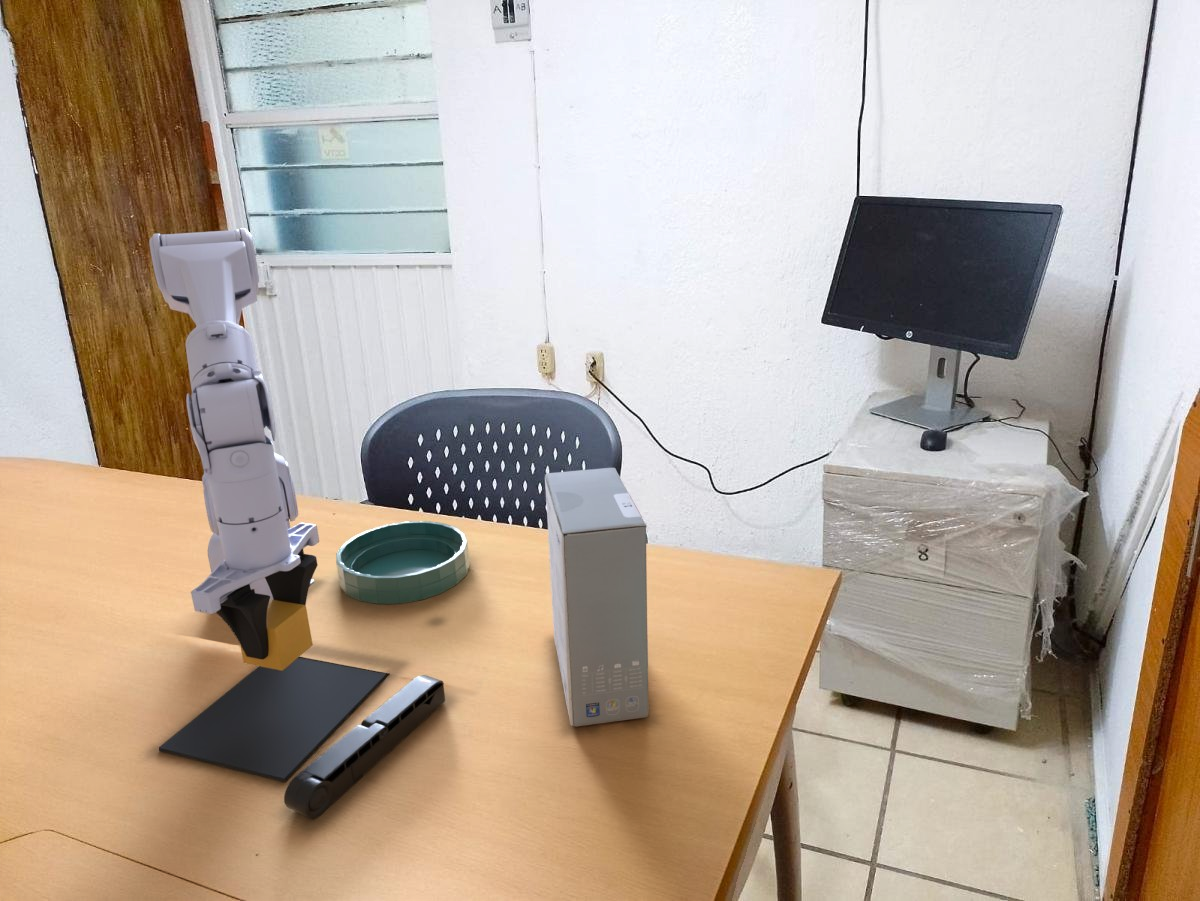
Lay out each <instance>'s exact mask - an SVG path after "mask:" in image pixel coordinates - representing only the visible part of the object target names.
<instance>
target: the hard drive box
mask: <svg viewBox="0 0 1200 901" xmlns="http://www.w3.org/2000/svg"><path fill="white" fill-rule="evenodd" d="M544 484H545V501H546V516H547V518H546V519H547V537H548V553H549V554H548V555H549V573H550V574H549V575H550V591H551V607H552V625H553V638H554V646H555V649H556V654H557V655H556V656H557V661H558V666H559V671H560V677H561V683H562V686H563V687H562V689H563V692H564V699H565V703H566V705H565V706H566V709H567V714H568V719H569V724H570V726H571V727H572V726H573V727H575V728H577V727H583V726H591V725H598V724H605V723H612V722H620V721H628V720H635V719H636V720H637V719H643V718H647V717H648V716H649V647H648V646H649V645H648V644H649V643H648V642H649V641H648V639H649V638H648V636H649V635H648V586H647V585H648V583H647V578H648V577H647V576H648V575H647V574H648V573H647V572H648V570H647V568H648V567H647V526H648V525H647V524H646V522H645V520H644V518H643V516H642V514H641V512H640V510H639V509H638V507H637V505H636V503H635V501H634V500H633V498H632V497H631V496H632V495H631V494H630V493H629V492H628V490H627V488H626V486H625V483H624V481H623V480H622V478H621V476H620V474H619V473H618V471H617V469H616V468H615V467H604V468H592V469H591V468H590V469H580V470H571V471H570V470H569V471H568V470H567V471H558V472H557V471H556V472H547V473H545V475H544Z"/></svg>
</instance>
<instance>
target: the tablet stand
mask: <svg viewBox="0 0 1200 901" xmlns="http://www.w3.org/2000/svg"><path fill="white" fill-rule="evenodd" d="M444 684H445V683H444V681H443V680H441V679H439V678H434V677H432V676H429V675H426V674H421V675H418V676H416V677H414V678H413V679H411V681H409V682H408V683H407V684H406V685H405V686H403V687H402V688H401V689H399V690H398V691H397V692H396V693H395V694H394V695H392V696H391V697H390V698H389V699H387V700H386V701H385V702H384V703H382V704H381V705H380V706H379V707H378V708H376V709H375V710H374V711H373V712H372V713H370V714H369V715H368V716H367V717H365V718H364V719H363V720H362V721H361V724H356V725H355V726H354V727H353V728H352V729H351V730H350V731H348V732H347V733H346V734H345V735H344V736H342V737H341V738H340V739H338V741H336V742H335V743H334V744H332V745H331V746H330V747H329V748H328V749H327V750H326V751H324V752H323V753H322V754H321V755H320V756H318V757H317V758H316V759H315V760H313V761H312V762H311V763H310V764H308V765H307V766H306V767H305V768H304V769H303V770H301V771H299V772H298V773H297V774H296V775H295V776H294V777H293V778H292V779H291V780H290V782H289V783H288V784H287V787H286V789H285V791H284V795H283V802H284V805H285V807H286V808H287V809H289V810H292V811H294V812H296V813H298V814H301V815H303V816H305V817H307V818H308V819H316V818H319V817H320V816H322V815H323V814H324V813H325V812H326V810H328V809H329V808H330V807H332V805H333V804H334V803H335V802H337V801H338V800H339V799H340V798H341V797H342V796H343V795H344V794H345V793H346V792H348V791H349V790H350V789H351V788H353V786H355V785H356V784H357V783H358V782H359V781H360V780H361V779H362V778H363V777H364V775H365V774H366V773H367V772H368V771H369V770H370V769H372V768H373V767H374V766H375V765H376V764H377V763H379V761H381V760H382V759H383V758H384V757H385V756H386V755H387V754H389V753H390V752H391V751H393V749H394V748H396V746H397V745H399V744H400V743H401V742H402V741H403V740H404V739H405V738H406V737H407V736H409V735H410V734H411V733H412V732H413V731H414V730H415V729H416V728H418V727H419V725H421V724H422V723H423V722H424V721H425V720H427V719H428V718H429V717H430V716H431V715H432V714H433V713H434V712H435V711H436V710H437V709H439V708H440V707H441V706H443V704H444V703H445V702H446V697H445V696H446V695H445V687H444Z"/></svg>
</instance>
